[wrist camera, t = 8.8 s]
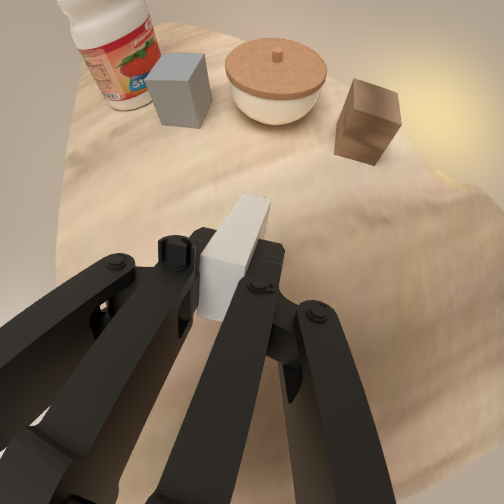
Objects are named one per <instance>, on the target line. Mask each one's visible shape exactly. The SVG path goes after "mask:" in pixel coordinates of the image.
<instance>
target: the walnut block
mask: <svg viewBox="0 0 504 504" xmlns="http://www.w3.org/2000/svg"><path fill="white" fill-rule="evenodd" d="M401 125H402V124H401V116H400V107H399V101H398V94H397V93H396V92H393V91H390V90H388V89H385V88H382V87H379V86H376V85H373V84H370V83H367V82H364V81H361V80H357V79H354V80H353V82H352V85H351V88H350V90H349V93H348V96H347V98H346V101H345V104H344V106H343V109H342V112H341V114H340V117H339V120H338V122H337V129H336V140H335V150H334V155H338V156H341V157H345V158H349V159H352V160H356V161H359V162H363V163H366V164H369V165H373V166H374V165H375V164H376V162H377V161H378V160H379V158H380V157H381V155H382V154H383V152H384V151H385V149H386V148H387V146H388V145H389V143H390V142H391V140H392V139H393V137H394V136H395V134H396V133H397V131H398V130H399V128H400V127H401Z"/></svg>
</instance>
